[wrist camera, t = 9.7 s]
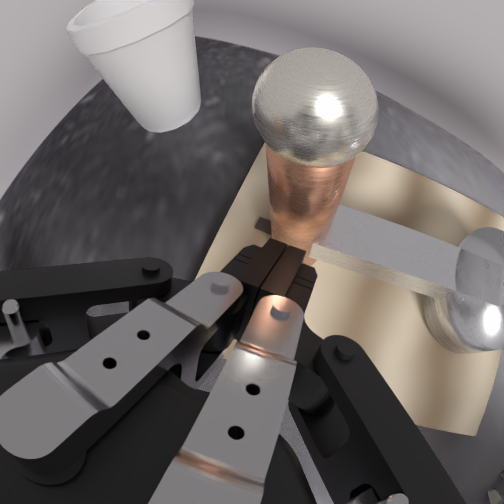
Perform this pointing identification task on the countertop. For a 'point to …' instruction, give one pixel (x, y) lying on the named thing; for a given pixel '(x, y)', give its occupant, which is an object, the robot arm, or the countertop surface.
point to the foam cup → (144, 56)
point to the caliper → (496, 495)
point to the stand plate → (383, 289)
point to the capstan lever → (356, 222)
